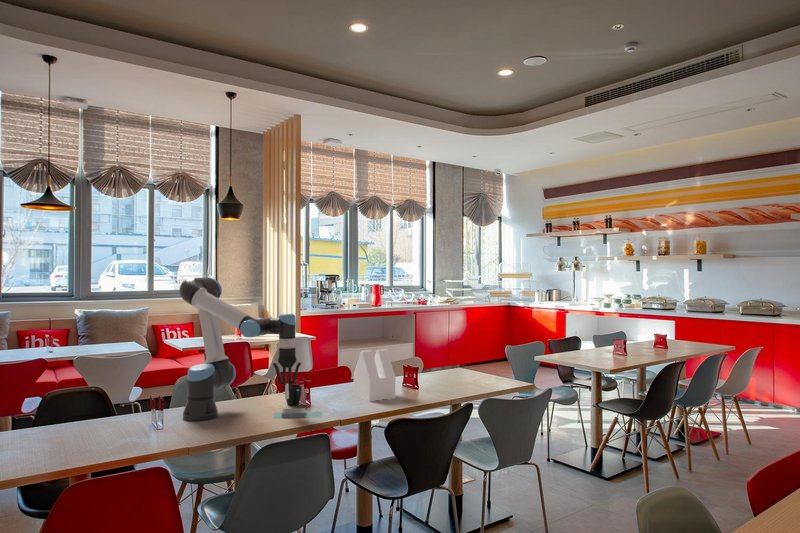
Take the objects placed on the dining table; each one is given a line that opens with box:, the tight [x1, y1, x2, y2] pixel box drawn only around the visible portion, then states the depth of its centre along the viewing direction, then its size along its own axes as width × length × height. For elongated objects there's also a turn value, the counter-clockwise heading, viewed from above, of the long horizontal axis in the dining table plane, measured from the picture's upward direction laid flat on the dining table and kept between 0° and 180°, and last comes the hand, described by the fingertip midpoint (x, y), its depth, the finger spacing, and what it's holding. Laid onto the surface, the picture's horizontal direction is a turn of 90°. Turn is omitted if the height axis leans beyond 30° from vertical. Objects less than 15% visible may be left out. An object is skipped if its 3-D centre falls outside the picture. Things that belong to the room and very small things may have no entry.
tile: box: [281, 407, 306, 419], centre depth 254 cm, size 2×9×10 cm
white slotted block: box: [352, 348, 396, 402], centre depth 297 cm, size 19×15×25 cm
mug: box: [285, 384, 303, 407], centre depth 274 cm, size 8×12×10 cm
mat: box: [272, 411, 323, 419], centre depth 254 cm, size 22×10×1 cm, turn 97°
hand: (287, 398), depth 254 cm, fingers closed
